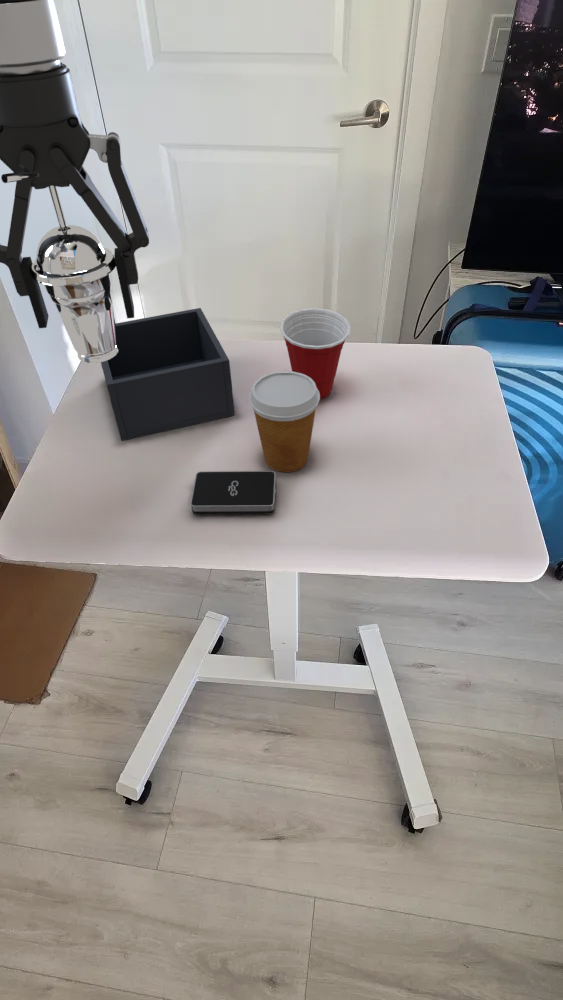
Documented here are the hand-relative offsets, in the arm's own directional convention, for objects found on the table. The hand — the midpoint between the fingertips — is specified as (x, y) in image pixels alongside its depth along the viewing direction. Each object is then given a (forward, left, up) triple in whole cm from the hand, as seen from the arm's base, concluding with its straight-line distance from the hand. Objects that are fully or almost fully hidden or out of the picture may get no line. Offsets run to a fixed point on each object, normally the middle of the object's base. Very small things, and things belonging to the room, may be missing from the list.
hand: (87, 317), depth 68 cm
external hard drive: (+13, -4, -27) cm, 30 cm away
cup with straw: (0, 0, -5) cm, 5 cm away
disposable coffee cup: (+22, +3, -27) cm, 35 cm away
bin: (+6, +23, -27) cm, 36 cm away
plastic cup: (+30, +19, -27) cm, 44 cm away
